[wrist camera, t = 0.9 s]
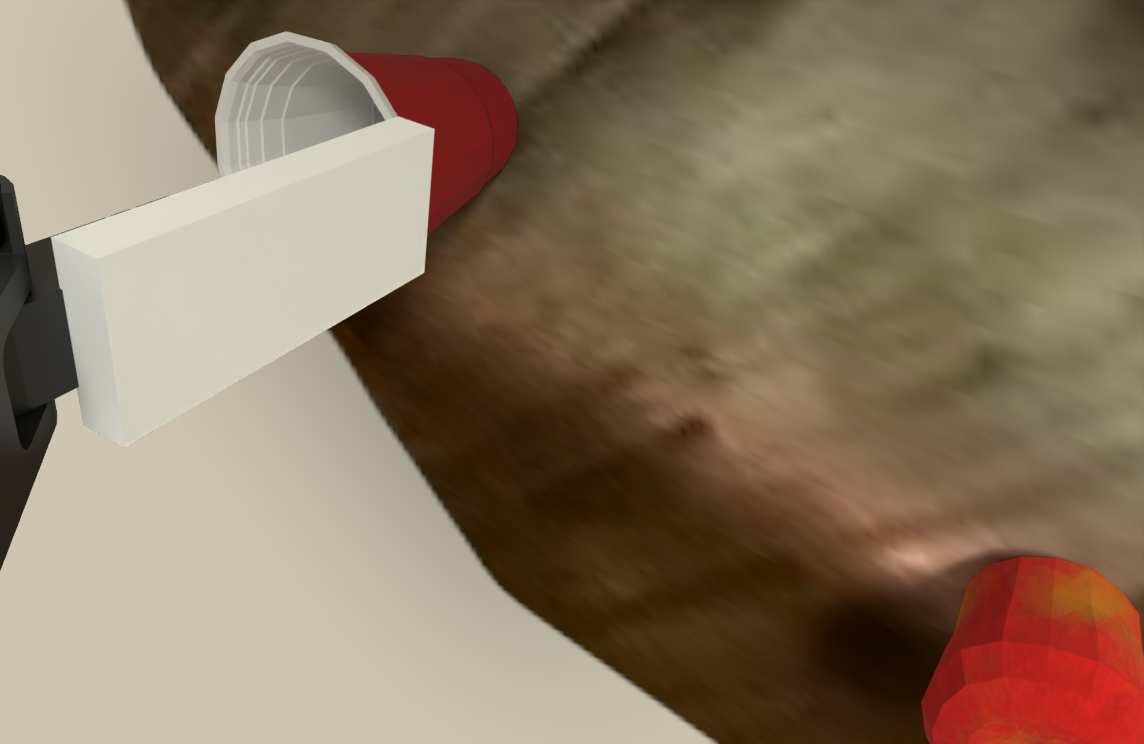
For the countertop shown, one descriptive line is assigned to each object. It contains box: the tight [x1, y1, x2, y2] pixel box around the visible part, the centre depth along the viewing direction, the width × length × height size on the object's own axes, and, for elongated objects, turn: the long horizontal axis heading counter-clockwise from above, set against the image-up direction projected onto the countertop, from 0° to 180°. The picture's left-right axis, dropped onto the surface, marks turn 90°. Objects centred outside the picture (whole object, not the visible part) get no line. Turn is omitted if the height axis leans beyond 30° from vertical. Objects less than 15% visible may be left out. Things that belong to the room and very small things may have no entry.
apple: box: [921, 556, 1144, 744], centre depth 38 cm, size 9×8×12 cm
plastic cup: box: [215, 31, 518, 237], centre depth 41 cm, size 11×11×12 cm
